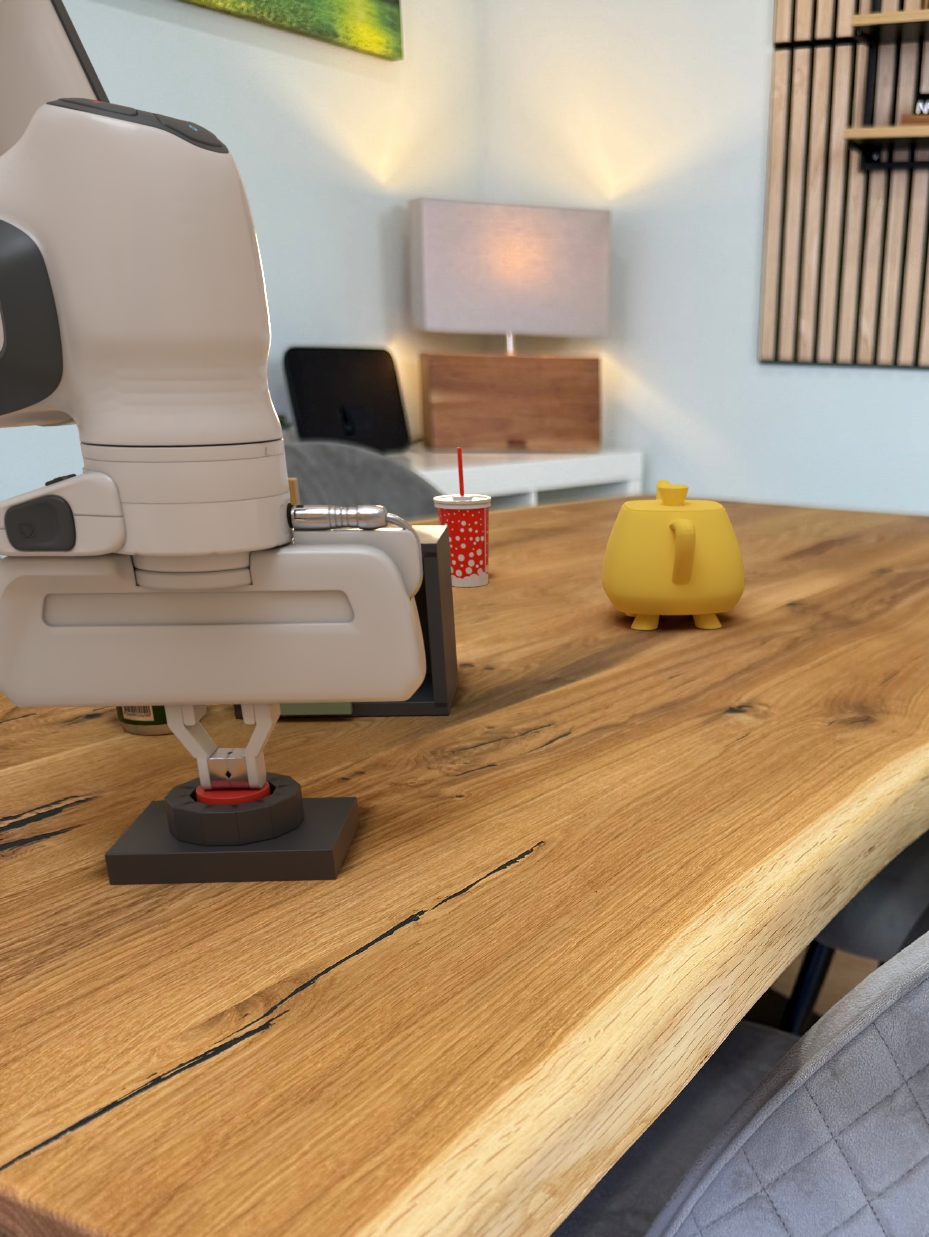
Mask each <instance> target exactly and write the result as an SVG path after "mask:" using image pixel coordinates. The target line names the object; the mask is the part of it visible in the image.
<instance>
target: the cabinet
mask: <svg viewBox="0 0 929 1237" xmlns="http://www.w3.org/2000/svg"><path fill="white" fill-rule="evenodd" d="M411 526H412V528H413V529H414V530H415V532H416V533H417V535H418V538H419V540H420V544H421V553H422V565H423V580H422V584H421V586H420V588H419V590H418V592H417V593H416V595H415V596H414V598H415V602H416V606H417V611H418V615H419V620H420V625H421V630H422V636H423V642H424V650H425V657H426V674H425V678H424V680H423V682H422V684H421V685H420V687H419V688H418V689H417V690H416V692H415V693H414V694H413V695H412V696H411V697H410V698H409V699H408V700H405V701H388V702H352V709H353V712H352V714H339V715H280V716H279V718H333V717H334V718H337V717H338V718H339V717H342V718H343V717H344V718H346V717H401V716H402V717H403V716H405V717H406V716H409V717H411V716H414V717H415V716H449V715H450V711H451V708H452V705H453V702H454V699H455V695H456V693H457V690H458V686H459V673H458V672H459V671H458V670H459V669H458V655H457V640H456V624H455V623H456V622H455V610H454V609H455V608H454V595H453V594H454V593H453V586H452V578H451V562H450V547H449V532H448V526H447V525H439V524H438V525H411ZM338 529H339V528H338ZM340 529H359V528H350V527H349V528H340ZM382 529H401V528H400V527H399V526H397V525H387V527H385V528H382ZM232 705H233V712H234V717H235V719H243V715H242V708H241V704H232Z"/></svg>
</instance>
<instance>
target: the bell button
mask: <svg viewBox="0 0 929 1237" xmlns="http://www.w3.org/2000/svg"><path fill="white" fill-rule="evenodd" d="M269 795H271V794H270V786H269V783H268V781H267V780H266V782H265V784H264V785H263V787H262V788H261V789H213V790H203V789H202V787H201V785H199V786H198V787H197V788H196V796H197V802H200V803H205V804H210V805H231V804H240V803H246V802H251V801H257V800H259V799H262V798H264V797H266V796H269Z"/></svg>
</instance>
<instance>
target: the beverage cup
mask: <svg viewBox="0 0 929 1237" xmlns="http://www.w3.org/2000/svg"><path fill="white" fill-rule="evenodd" d="M456 454H457V470H458V472H457V473H458V486H459V494H458V493H457V494H447V495H438V496H434V497H433V503H434V508H436V512H437V519H438V520H437V521H438V525H447V526H448V532H449V547H450V562H451V578H452V587H454V588H474V587H483V586H486V585H489V555H490V554H489V553H490V552H489V549H490V548H489V544H490V543H489V542H490V541H489V540H490V538H489V529H490V528H489V527H490V526H489V524H490V523H489V522H490V521H489V520H490V518H489V514H490V513H489V512H490V511H489V510H490V509H489V508H490V507H491V506H492V503H491V502H492V497H491V496H489V495H482V494H469V493H467V494H466V493H465V483H464V482H465V481H464V468H463V467H464V466H463V465H464V464H463V451H462V447H456Z"/></svg>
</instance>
